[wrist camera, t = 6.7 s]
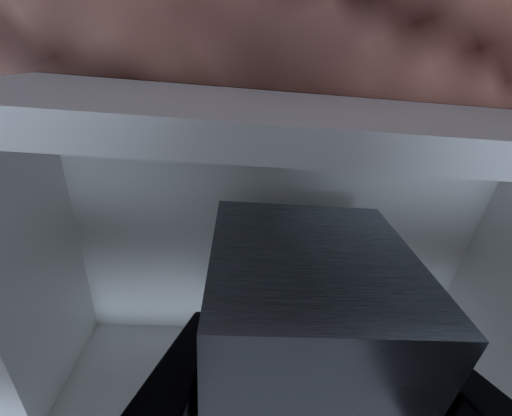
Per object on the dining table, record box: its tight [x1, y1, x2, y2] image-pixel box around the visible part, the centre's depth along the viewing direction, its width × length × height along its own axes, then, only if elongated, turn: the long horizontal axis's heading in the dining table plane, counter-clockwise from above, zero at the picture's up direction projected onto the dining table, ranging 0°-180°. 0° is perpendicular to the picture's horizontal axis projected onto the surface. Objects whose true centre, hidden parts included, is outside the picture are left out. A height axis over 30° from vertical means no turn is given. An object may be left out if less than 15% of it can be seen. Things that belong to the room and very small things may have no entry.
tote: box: [0, 72, 512, 416], centre depth 10 cm, size 17×11×6 cm, turn 86°
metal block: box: [197, 201, 489, 416], centre depth 8 cm, size 5×5×5 cm
